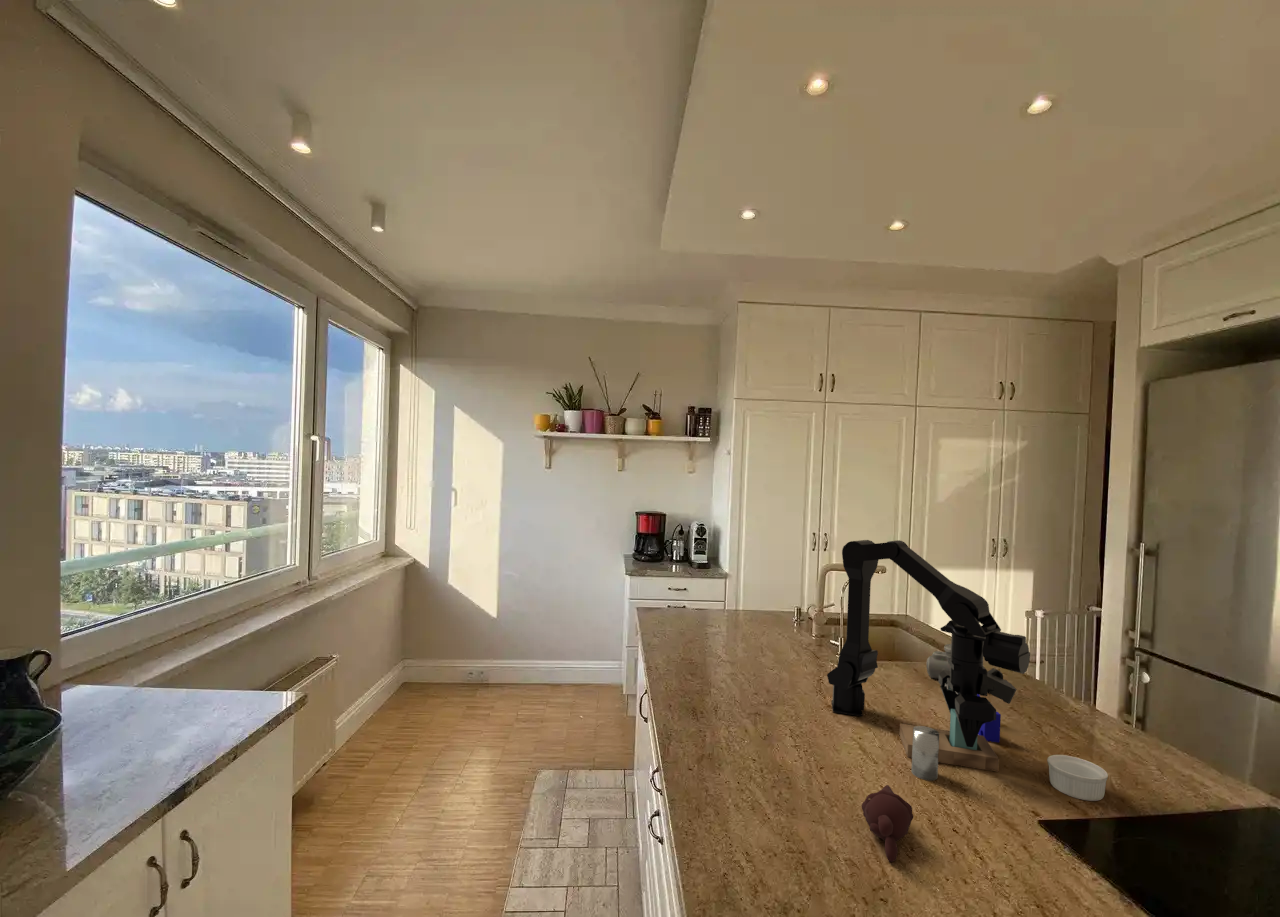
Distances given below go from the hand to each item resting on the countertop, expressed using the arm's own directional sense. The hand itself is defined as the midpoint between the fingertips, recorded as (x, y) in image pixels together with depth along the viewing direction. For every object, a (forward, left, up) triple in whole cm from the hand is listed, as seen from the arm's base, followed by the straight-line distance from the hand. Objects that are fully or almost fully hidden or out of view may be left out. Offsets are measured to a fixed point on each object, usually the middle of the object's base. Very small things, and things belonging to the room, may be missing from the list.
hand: (963, 736), depth 119 cm
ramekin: (+17, -7, -4) cm, 19 cm away
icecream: (-18, -34, -4) cm, 38 cm away
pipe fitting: (+8, +46, -4) cm, 47 cm away
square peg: (0, 0, -4) cm, 4 cm away
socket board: (-3, 0, -4) cm, 5 cm away
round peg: (-9, -11, -4) cm, 15 cm away
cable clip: (+6, +15, -4) cm, 17 cm away
